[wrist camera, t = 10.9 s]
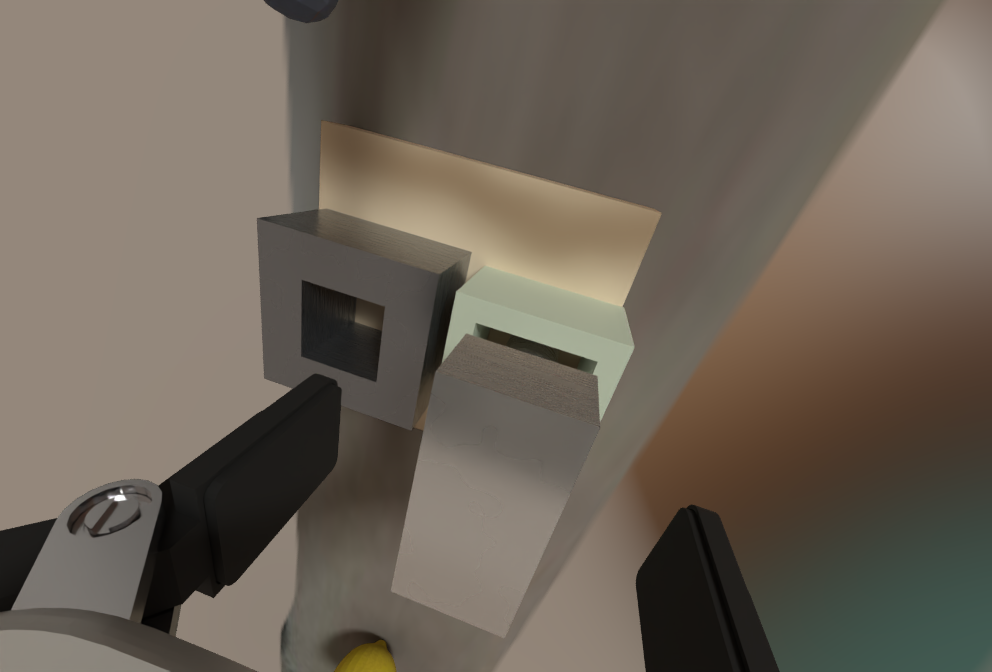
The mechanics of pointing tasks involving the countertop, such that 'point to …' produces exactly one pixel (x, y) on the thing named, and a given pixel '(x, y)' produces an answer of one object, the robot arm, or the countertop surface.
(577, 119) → the countertop surface
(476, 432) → the light grey block
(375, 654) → the lemon
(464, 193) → the board
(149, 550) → the robot arm
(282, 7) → the toy drill
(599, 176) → the countertop surface
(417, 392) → the block
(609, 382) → the pale green hollow frame
